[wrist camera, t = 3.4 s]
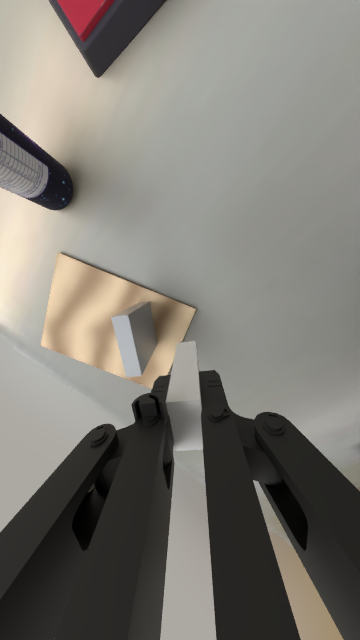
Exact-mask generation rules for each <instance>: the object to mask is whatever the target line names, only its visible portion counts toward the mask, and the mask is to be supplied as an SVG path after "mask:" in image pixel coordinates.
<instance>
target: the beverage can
mask: <svg viewBox="0 0 360 640" xmlns="http://www.w3.org/2000/svg"><path fill="white" fill-rule="evenodd" d="M0 187H1V188H4V189H6V190H8V191H10V192H12V193H15V194H17V195H19V196H21V197H23V198H26V199H28V200H30V201H32V202H35V203H37V204H39V205H41V206H43V207H46V208H48V209H50V210H61V209H63V208H65V207H66V206H67V205H68V204H69V202H70V200H71V198H72V194H73V185H72V180H71V177H70V175H69V173H68V172H67V170H66V169H65V168H64V167H63V166H62V165H61V164H60V163H59V162H57V161H56V160H55V159H54V158H53V157H51V156H50V155H49V154H48V153H47V152H45V151H44V150H43V149H42V148H41V147H39V146H38V145H37V144H36V143H35V142H34V141H32V140H31V139H30V138H29V137H28V136H26V135H25V134H24V133H23V132H22V131H20V130H19V129H18V128H17V127H16V126H14V125H13V124H12V123H11V122H10V121H8V120H7V119H6V118H5V117H4V116H2V115H1V114H0Z"/></svg>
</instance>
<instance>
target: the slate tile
mask: <svg viewBox="0 0 360 640" xmlns="http://www.w3.org/2000/svg"><path fill="white" fill-rule="evenodd" d="M111 319H112V323H113V327H114V331H115V335H116V339H117V343H118V347H119V351H120V355H121V359H122V363H123V367H124V371H125V375H126V377H134V376H142V374H143V372H144V370H145V368H146V366H147V364H148V362H149V360H150V358H151V356H152V354H153V352H154V350H155V348H156V346H157V344H158V343H157V337H156V332H155V327H154V322H153V316H152V311H151V306H150V301H147V302H140V303H137V304H135V305H133V306H131V307H129V308H127V309H125V310H123V311H122V312H120V313H118V314H116V315H114V316H112V317H111Z"/></svg>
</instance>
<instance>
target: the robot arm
mask: <svg viewBox="0 0 360 640" xmlns="http://www.w3.org/2000/svg"><path fill="white" fill-rule="evenodd" d="M132 409H133V413H134V417H135V423H134V424H132V425H130V426H128V427H126V428H122V429H119V430H116V429H115V427H114V426H113V425H111V424H103V425H100V426H97V427H96V428H94V429H92V430H91V431H90V432H89V433H88V434H87V435H86V436H85V437H84V438H83V439H82V440H81V441H80V443H79V444H78V445H77V446H76V447H75V448H74V449H73V451H72V452H71V453H70V454H69V455H68V456H67V457H66V459H65V460H64V461H63V462H62V463H61V464H60V465H59V466H58V468H57V469H56V470H55V471H54V472H53V473H52V474H51V476H50V477H49V478H48V479H47V480H46V481H45V482H44V484H43V485H42V486H41V487H40V488H39V489H38V490H37V492H36V493H35V494H34V495H33V496H32V497H31V498H30V499H29V501H28V502H27V503H26V504H25V505H24V506H23V507H22V509H21V510H20V511H19V512H18V513H17V514H16V515H15V516H14V518H13V519H12V520H11V521H10V522H9V523H8V525H7V526H6V527H5V528H4V529H3V530H2V531H1V532H0V640H160V633H161V620H162V609H163V597H164V584H165V572H166V559H167V548H168V535H169V522H170V509H171V498H172V486H173V473H174V457H173V446H174V448H175V451H182V450H202V449H203V454H204V468H205V482H206V496H207V511H208V524H209V539H210V553H211V566H212V580H213V595H214V610H215V624H216V637H217V640H301V639H300V636H299V633H298V629H297V627H296V623H295V620H294V616H293V613H292V610H291V606H290V603H289V600H288V596H287V593H286V590H285V586H284V583H283V580H282V576H281V573H280V570H279V567H278V563H277V560H276V557H275V553H274V550H273V546H272V543H271V540H270V536H269V533H268V530H267V526H266V523H265V520H264V516H263V513H262V510H261V506H260V503H259V500H258V496H257V493H256V490H255V486H254V483H253V480H255V481H258V482H259V484H260V486H261V488H262V490H263V491H264V493H265V495H266V497H267V499H268V501H269V503H270V504H271V506H272V508H273V510H274V512H275V514H276V515H277V517H278V519H279V521H280V523H281V525H282V527H283V528H284V530H285V532H286V534H287V536H288V538H289V539H290V541H291V543H292V545H293V547H294V549H295V550H296V552H297V554H298V556H299V558H300V559H301V562H302V563H303V565H304V567H305V569H306V571H307V573H308V574H309V576H310V578H311V580H312V582H313V584H314V586H315V587H316V589H317V591H318V593H319V595H320V597H321V598H322V600H323V602H324V604H325V606H326V608H327V610H328V611H329V613H330V615H331V617H332V619H333V620H334V622H335V624H336V626H337V628H338V630H339V632H340V633H341V635H342V637H343V639H344V640H360V491H359V490H358V489H357V488H356V487H355V486H354V485H353V484H352V483H351V482H350V481H349V480H348V479H347V478H346V477H345V476H344V475H343V474H342V473H341V472H340V471H339V470H338V469H337V468H336V467H335V466H334V465H333V464H332V463H331V462H330V461H329V460H328V459H327V458H326V457H325V456H324V455H323V454H322V453H321V452H320V451H319V450H318V449H317V448H316V447H315V446H314V445H313V444H312V443H311V442H310V441H309V440H308V439H307V438H306V437H305V436H304V435H303V434H302V433H301V432H300V431H299V430H298V429H297V428H296V427H295V426H294V425H293V424H292V423H291V422H290V421H289V420H287V419H286V418H285V417H283V416H281V415H279V414H277V413H272V412H263V413H260V414H258V415H257V416H256V418H255V419H254V420H253V419H248V418H244V417H241V416H239V415H237V414H235V413H234V412H232V411H231V409H230V408H229V406H228V403H227V400H226V396H225V393H224V389H223V386H222V382H221V379H220V375H219V374H218V373H217V372H216V371H215V370H211V371H201V372H200V371H199V363H198V355H197V347H196V341H190V342H181V343H177V346H176V351H175V357H174V362H173V367H172V372H171V375H164V376H159V377H158V378H157V379H156V380H155V381H154V384H153V388H152V390H151V393H147V394H144V395H142V396H139V397H138V398H137V399H135V400H134V402H133V403H132ZM54 638H55V639H54Z"/></svg>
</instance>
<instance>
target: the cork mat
mask: <svg viewBox="0 0 360 640" xmlns="http://www.w3.org/2000/svg"><path fill="white" fill-rule="evenodd" d="M147 301H150V306H151V311H152V316H153V322H154V327H155V332H156V337H157V343H158V344H157V346H156V348H155V350H154V352H153V354H152V356H151V358H150V360H149V362H148V364H147V366H146V368H145V370H144V372H143V374H142V376H134V377H126V375H125V371H124V367H123V363H122V359H121V355H120V351H119V347H118V343H117V339H116V335H115V331H114V327H113V323H112V319H111V317H112V316H114V315H116V314H118V313H120V312H122V311H123V310H125V309H127V308H129V307H131V306H133V305H135V304H137V303H140V302H147ZM195 311H196V309H195V308H193V307H190V306H188V305H186V304H183V303H181V302H178V301H176V300H173V299H171V298H169V297H166V296H164V295H161V294H159V293H156V292H154V291H152V290H149V289H147V288H144V287H142V286H139V285H137V284H134V283H132V282H130V281H127V280H125V279H122V278H120V277H117V276H115V275H113V274H110V273H108V272H105V271H103V270H100V269H98V268H96V267H93V266H91V265H88V264H86V263H83V262H81V261H78V260H76V259H74V258H71V257H69V256H66V255H64V254H61V253H57V257H56V263H55V268H54V274H53V280H52V285H51V291H50V296H49V302H48V307H47V313H46V318H45V324H44V330H43V335H42V341H41V346H43V347H46V348H48V349H51V350H54V351H56V352H59V353H61V354H64V355H66V356H69V357H71V358H74V359H77V360H79V361H82V362H84V363H87V364H89V365H92V366H95V367H97V368H100V369H102V370H105V371H107V372H110V373H112V374H115V375H118V376H120V377H123V378H125V379H128V380H130V381H133V382H136V383H138V384H141V385H143V386H146V387H148V388H151V389H152V388H153V384H154V381H155V380H156V379H157V378H158V377H159V376H164V375H168V372H169V370H170V368H171V366H172V363H173V361H174V357H175V351H176V346H177V343H181V342H182V341H183V338H184V336H185V334H186V331H187V329H188V327H189V325H190V322H191V320H192V318H193V315H194V313H195Z"/></svg>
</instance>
